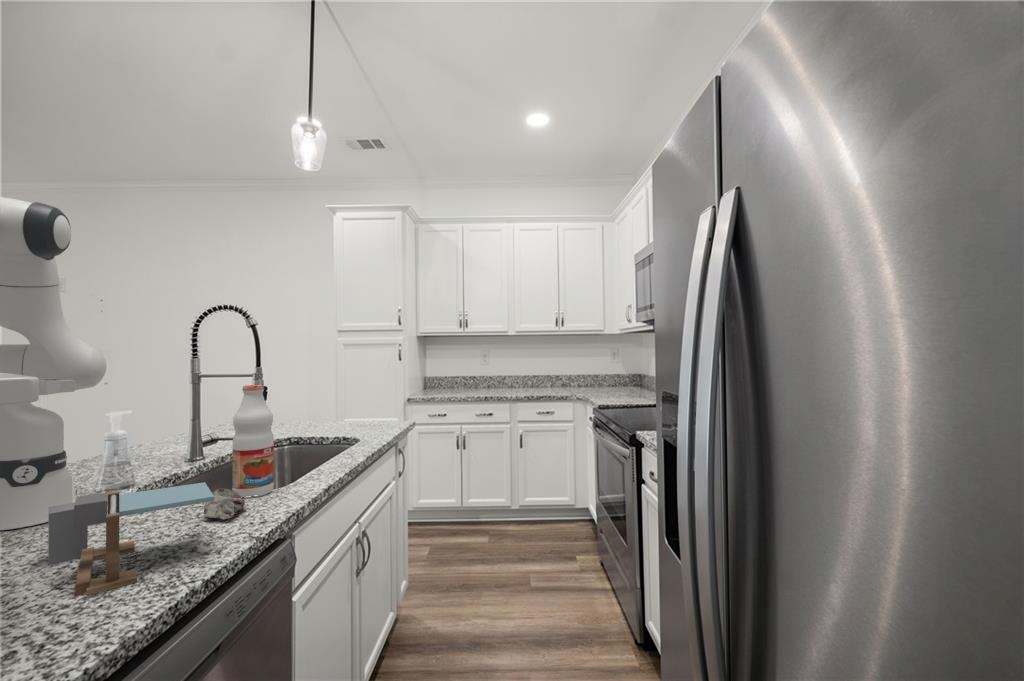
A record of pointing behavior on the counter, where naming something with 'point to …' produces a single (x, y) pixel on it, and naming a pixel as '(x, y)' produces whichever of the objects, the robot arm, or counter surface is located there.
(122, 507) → the trapdoor
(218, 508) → the mineral rock
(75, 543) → the basalt block
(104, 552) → the post frame
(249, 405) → the fruit juice
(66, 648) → the counter surface
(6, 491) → the robot arm
